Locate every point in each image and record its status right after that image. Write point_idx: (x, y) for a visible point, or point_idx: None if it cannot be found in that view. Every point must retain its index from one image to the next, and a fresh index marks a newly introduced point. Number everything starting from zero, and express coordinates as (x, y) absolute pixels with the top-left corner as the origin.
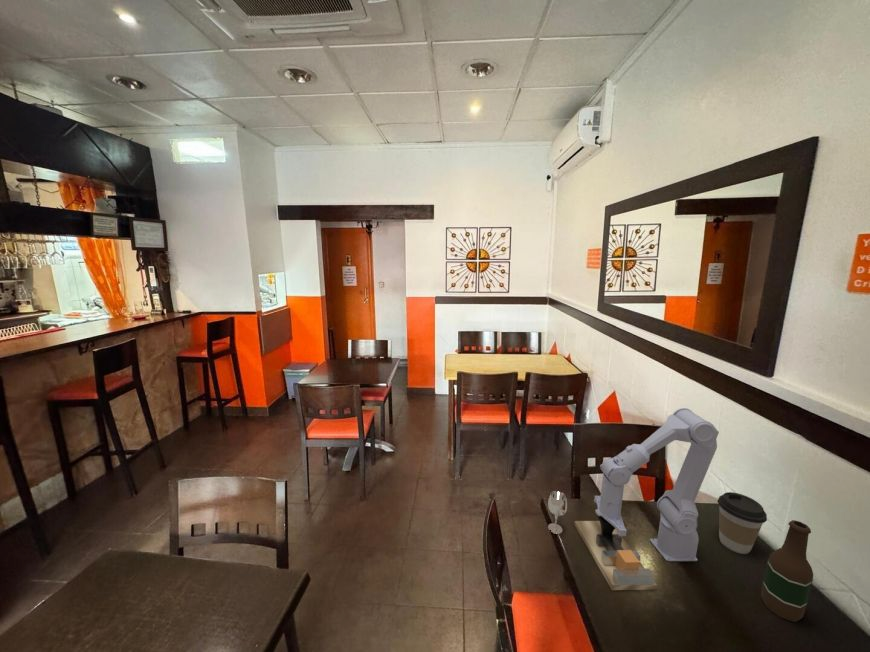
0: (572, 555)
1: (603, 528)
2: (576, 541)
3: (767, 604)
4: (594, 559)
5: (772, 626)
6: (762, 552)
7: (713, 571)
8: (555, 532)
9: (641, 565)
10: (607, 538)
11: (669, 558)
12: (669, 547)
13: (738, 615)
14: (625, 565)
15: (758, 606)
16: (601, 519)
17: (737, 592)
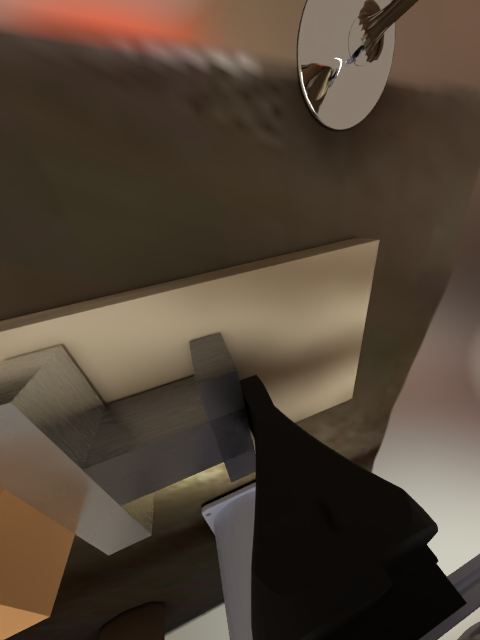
0: (69, 117)
1: (259, 463)
2: (238, 213)
3: (118, 630)
4: (101, 297)
5: (65, 631)
6: None
7: (197, 556)
8: (308, 26)
9: None
10: (208, 428)
11: (210, 514)
12: (226, 554)
13: (60, 608)
14: None
15: (118, 608)
16: (337, 621)
17: (145, 587)
